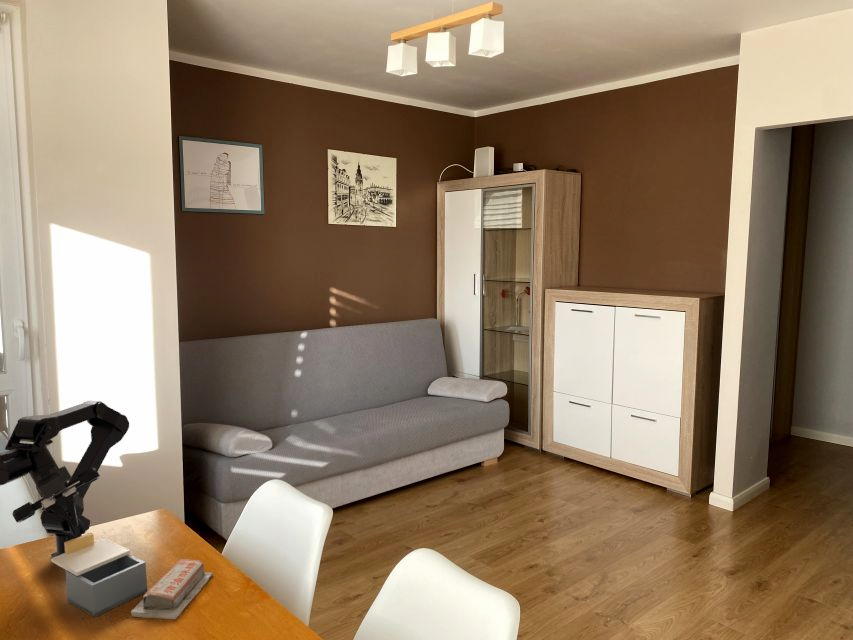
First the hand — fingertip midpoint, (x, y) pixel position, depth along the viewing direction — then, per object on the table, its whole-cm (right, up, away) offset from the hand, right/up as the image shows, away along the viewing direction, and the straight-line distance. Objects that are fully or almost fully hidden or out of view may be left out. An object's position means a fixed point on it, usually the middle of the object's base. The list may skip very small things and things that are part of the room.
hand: (76, 526), depth 153 cm
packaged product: (+26, -13, -8) cm, 30 cm away
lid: (+6, -5, -6) cm, 10 cm away
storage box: (+11, -13, -8) cm, 19 cm away
